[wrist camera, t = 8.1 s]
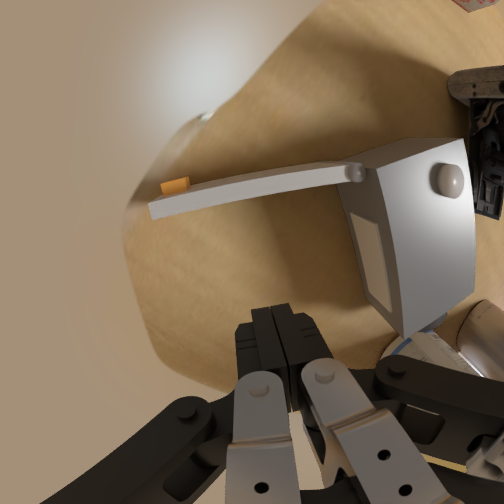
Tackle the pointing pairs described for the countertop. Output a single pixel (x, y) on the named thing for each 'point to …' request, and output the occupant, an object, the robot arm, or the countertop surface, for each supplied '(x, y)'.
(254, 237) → the countertop surface
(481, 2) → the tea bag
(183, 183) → the side door
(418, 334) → the supplement tub
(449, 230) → the camera housing
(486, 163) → the vintage camera
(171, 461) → the robot arm
